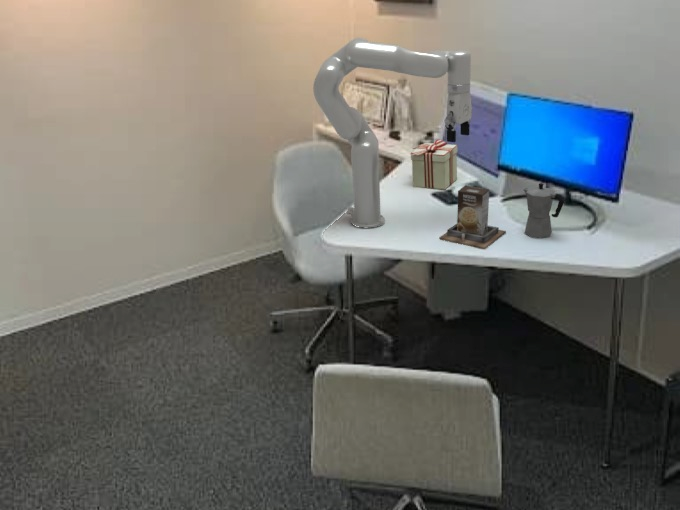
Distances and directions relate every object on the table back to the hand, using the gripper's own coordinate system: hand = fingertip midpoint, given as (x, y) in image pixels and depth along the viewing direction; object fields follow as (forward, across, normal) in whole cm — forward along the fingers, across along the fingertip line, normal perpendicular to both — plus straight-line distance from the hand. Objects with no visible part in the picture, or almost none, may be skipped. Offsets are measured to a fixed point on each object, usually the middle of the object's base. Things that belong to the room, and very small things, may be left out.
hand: (458, 138), depth 250 cm
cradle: (+30, -11, -12) cm, 34 cm away
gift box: (+31, +31, +29) cm, 52 cm away
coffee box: (+30, -11, -12) cm, 34 cm away
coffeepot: (+31, +2, -31) cm, 44 cm away
